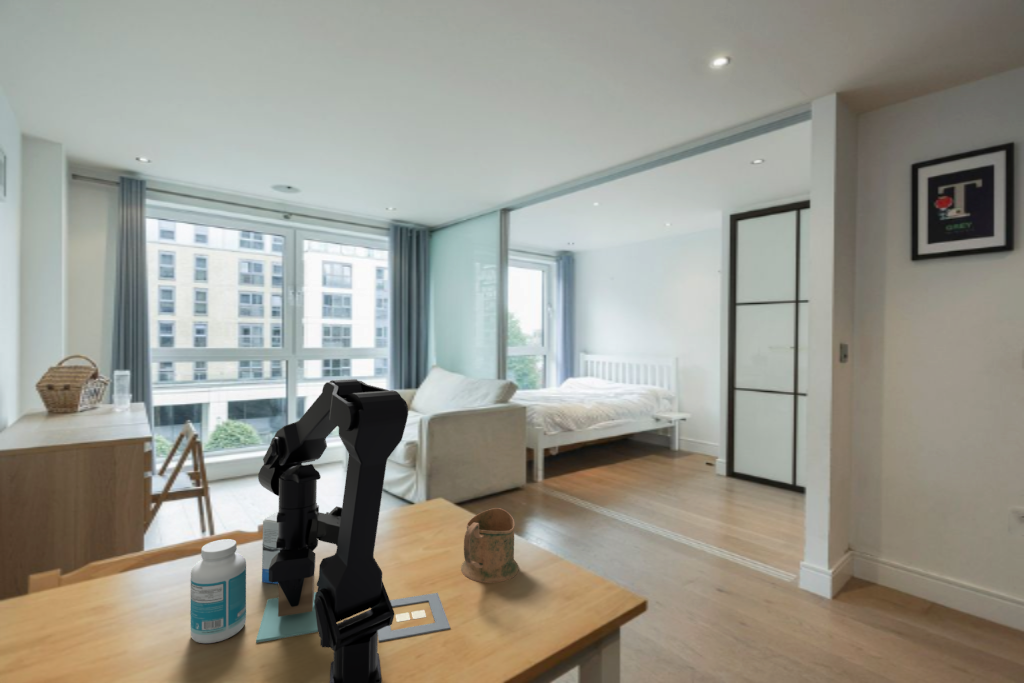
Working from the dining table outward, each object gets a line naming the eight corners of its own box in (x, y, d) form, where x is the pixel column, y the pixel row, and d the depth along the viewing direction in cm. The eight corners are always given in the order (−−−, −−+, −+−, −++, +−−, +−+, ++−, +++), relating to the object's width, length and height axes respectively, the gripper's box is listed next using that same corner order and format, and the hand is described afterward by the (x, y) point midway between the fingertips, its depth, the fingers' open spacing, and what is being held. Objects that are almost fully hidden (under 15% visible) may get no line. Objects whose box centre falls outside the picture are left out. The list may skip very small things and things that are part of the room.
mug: (436, 592, 88) (437, 526, 88) (474, 552, 104) (475, 497, 104) (495, 604, 84) (497, 536, 84) (525, 561, 101) (526, 503, 101)
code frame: (450, 629, 77) (450, 627, 77) (378, 642, 73) (378, 640, 73) (437, 594, 87) (437, 592, 87) (374, 604, 83) (374, 602, 83)
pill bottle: (234, 612, 80) (236, 531, 80) (253, 629, 76) (255, 543, 76) (182, 632, 75) (183, 545, 75) (199, 653, 70) (201, 560, 70)
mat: (327, 630, 76) (327, 628, 76) (255, 642, 72) (256, 640, 72) (329, 592, 87) (329, 590, 87) (267, 601, 84) (267, 599, 84)
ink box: (283, 585, 89) (284, 522, 89) (260, 582, 90) (261, 519, 90) (311, 564, 98) (312, 506, 98) (290, 562, 99) (290, 504, 98)
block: (312, 611, 78) (312, 574, 78) (278, 616, 77) (278, 579, 77) (314, 595, 83) (314, 560, 83) (282, 600, 81) (282, 565, 81)
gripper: (349, 518, 73) (348, 620, 74) (348, 483, 91) (347, 565, 91) (268, 526, 70) (267, 633, 70) (283, 488, 87) (282, 574, 87)
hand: (296, 597), depth 80 cm, fingers closed on block, 5 cm apart
